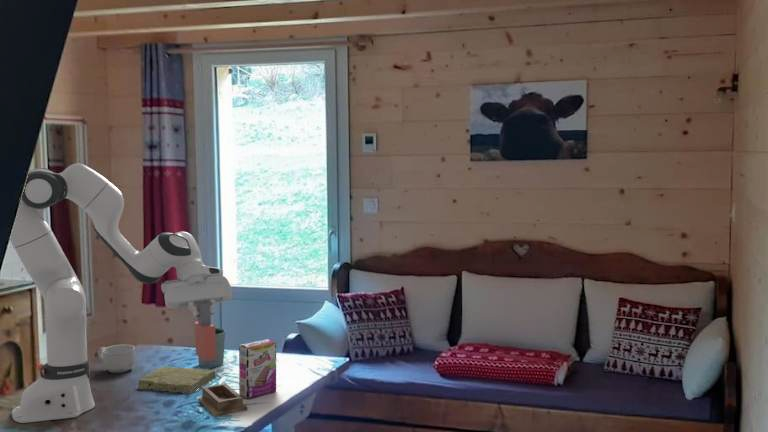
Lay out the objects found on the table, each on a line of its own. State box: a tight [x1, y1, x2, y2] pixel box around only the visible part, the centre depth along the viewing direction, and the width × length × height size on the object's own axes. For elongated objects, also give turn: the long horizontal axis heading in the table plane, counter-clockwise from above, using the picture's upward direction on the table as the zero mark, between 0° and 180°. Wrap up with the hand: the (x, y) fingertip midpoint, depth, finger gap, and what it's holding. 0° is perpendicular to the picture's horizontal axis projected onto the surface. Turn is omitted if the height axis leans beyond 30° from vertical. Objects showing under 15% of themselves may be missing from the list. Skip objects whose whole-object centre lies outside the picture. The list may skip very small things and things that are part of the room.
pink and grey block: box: [193, 303, 217, 361], centre depth 230 cm, size 4×9×16 cm, turn 31°
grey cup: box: [197, 327, 226, 368], centre depth 273 cm, size 10×10×12 cm
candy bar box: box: [238, 338, 277, 400], centre depth 239 cm, size 11×5×16 cm, turn 134°
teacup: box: [97, 343, 136, 374], centre depth 267 cm, size 14×11×8 cm
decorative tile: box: [137, 366, 217, 394], centre depth 252 cm, size 19×20×4 cm
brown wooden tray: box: [197, 383, 248, 417], centre depth 229 cm, size 10×16×4 cm, turn 30°
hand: (204, 314), depth 229 cm, fingers closed on pink and grey block, 3 cm apart
